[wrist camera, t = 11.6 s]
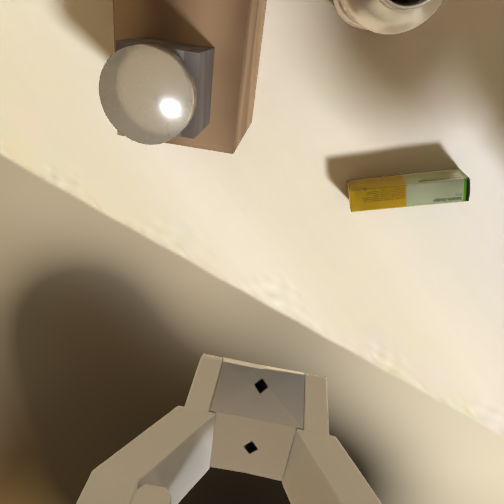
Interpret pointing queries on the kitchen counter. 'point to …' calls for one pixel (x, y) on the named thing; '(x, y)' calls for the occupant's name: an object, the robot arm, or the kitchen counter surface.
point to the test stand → (204, 59)
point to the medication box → (408, 190)
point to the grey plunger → (147, 93)
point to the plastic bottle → (386, 14)
